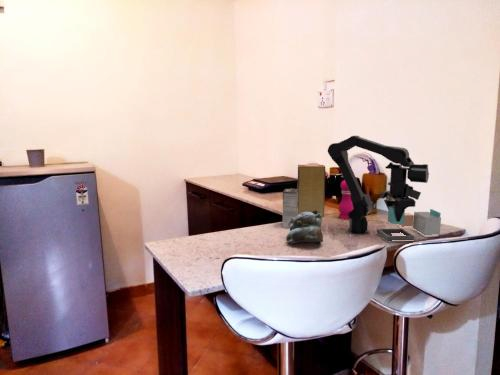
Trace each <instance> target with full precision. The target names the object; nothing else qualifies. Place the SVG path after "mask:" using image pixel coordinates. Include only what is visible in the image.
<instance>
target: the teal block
mask: <svg viewBox="0 0 500 375" xmlns="http://www.w3.org/2000/svg"><path fill="white" fill-rule="evenodd" d="M387 211H388V212H387V213H388V214H387V222H388V223H390V224H392V225H398V224H404V215H405V213H406V210H405V211H404V213H403V215H402V217H401V220H400V221H399V222H397V221H396V217H395V213H394V209H393V206H389V209H388V208H387Z"/></svg>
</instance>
